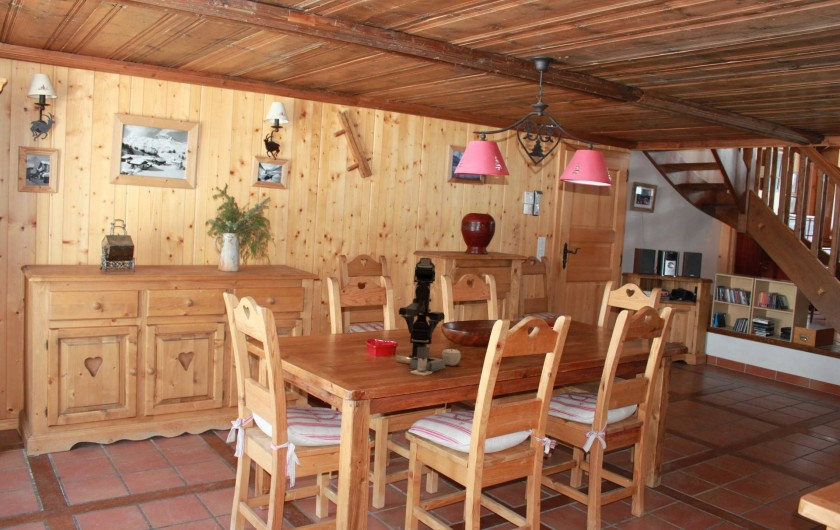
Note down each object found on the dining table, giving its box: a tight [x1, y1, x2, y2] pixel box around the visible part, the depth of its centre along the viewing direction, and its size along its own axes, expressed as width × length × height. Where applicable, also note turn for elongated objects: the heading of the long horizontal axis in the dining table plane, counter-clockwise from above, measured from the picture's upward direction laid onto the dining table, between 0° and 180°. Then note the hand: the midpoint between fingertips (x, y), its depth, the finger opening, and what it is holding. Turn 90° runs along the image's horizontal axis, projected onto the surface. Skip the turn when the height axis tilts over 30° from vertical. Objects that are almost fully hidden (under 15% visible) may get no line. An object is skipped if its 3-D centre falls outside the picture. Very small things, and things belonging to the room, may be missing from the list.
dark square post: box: [416, 346, 430, 372], centre depth 276 cm, size 3×3×10 cm
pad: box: [410, 369, 433, 376], centre depth 277 cm, size 6×6×1 cm
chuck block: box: [395, 354, 446, 373], centre depth 288 cm, size 10×20×4 cm, turn 57°
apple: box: [441, 348, 462, 367], centre depth 295 cm, size 8×8×7 cm
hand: (420, 334), depth 286 cm, fingers open, 9 cm apart
